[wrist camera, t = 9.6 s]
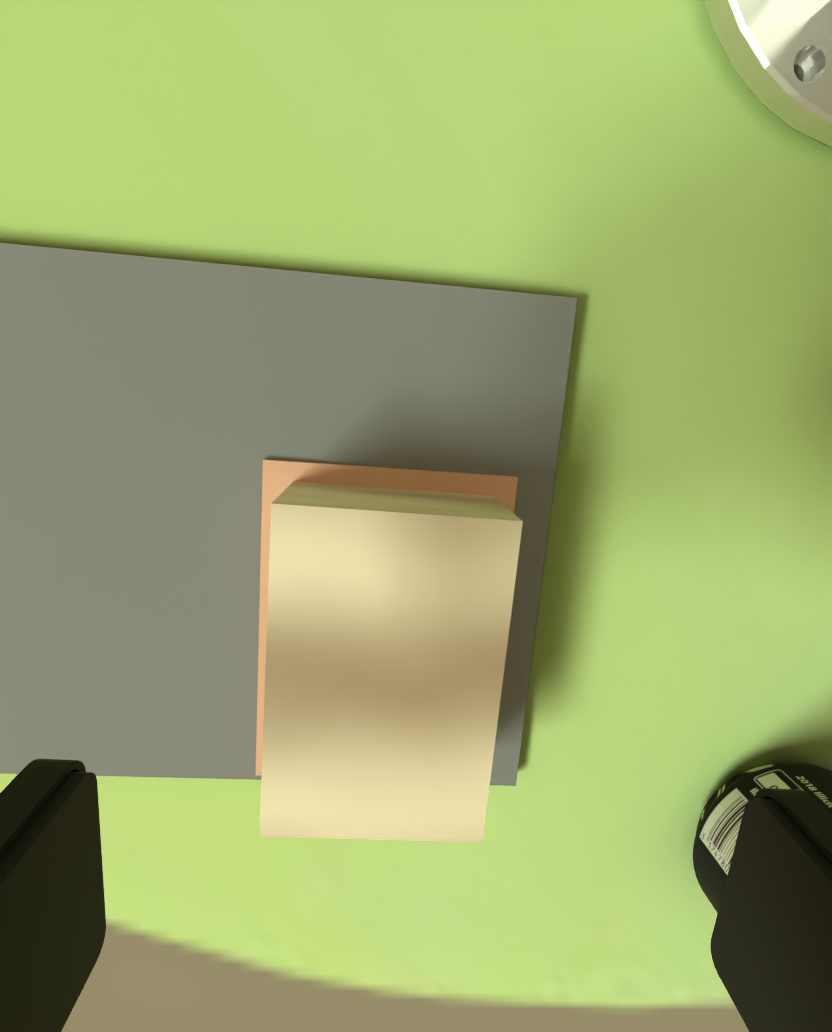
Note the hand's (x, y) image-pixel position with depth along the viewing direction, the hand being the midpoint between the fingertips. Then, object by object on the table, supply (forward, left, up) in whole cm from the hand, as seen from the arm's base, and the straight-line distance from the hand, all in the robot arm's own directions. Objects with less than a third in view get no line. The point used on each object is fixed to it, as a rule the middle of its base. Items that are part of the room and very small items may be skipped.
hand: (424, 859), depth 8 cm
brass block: (0, +1, -10) cm, 10 cm away
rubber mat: (+5, -2, -11) cm, 12 cm away
